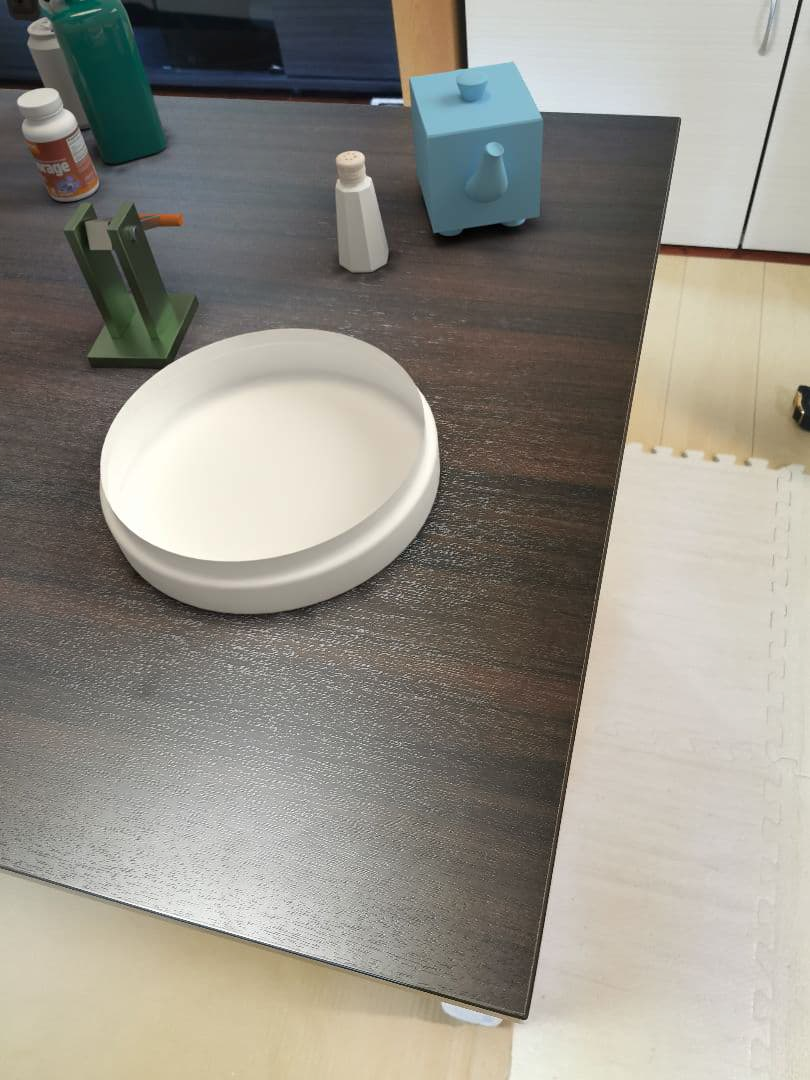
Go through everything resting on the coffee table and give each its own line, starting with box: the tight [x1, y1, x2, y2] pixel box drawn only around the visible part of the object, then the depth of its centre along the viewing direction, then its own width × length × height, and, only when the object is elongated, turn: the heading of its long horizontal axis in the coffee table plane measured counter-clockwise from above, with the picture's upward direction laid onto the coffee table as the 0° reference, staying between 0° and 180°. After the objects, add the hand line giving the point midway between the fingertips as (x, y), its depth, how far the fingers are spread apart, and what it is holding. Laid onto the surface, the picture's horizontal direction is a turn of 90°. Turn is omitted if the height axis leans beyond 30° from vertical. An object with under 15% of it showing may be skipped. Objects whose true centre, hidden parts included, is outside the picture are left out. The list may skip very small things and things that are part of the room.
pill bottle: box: [16, 87, 100, 203], centre depth 98 cm, size 6×6×11 cm
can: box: [26, 16, 90, 130], centre depth 110 cm, size 8×8×12 cm
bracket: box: [62, 201, 200, 369], centre depth 78 cm, size 10×8×13 cm
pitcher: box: [39, 0, 168, 165], centre depth 100 cm, size 10×8×22 cm
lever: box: [85, 213, 184, 251], centre depth 79 cm, size 13×5×2 cm, turn 173°
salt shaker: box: [334, 150, 390, 274], centre depth 84 cm, size 5×5×11 cm
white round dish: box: [99, 327, 441, 615], centre depth 67 cm, size 27×27×6 cm
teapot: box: [408, 61, 544, 237], centre depth 86 cm, size 22×11×14 cm, turn 7°
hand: (35, 3), depth 68 cm, fingers open, 8 cm apart
